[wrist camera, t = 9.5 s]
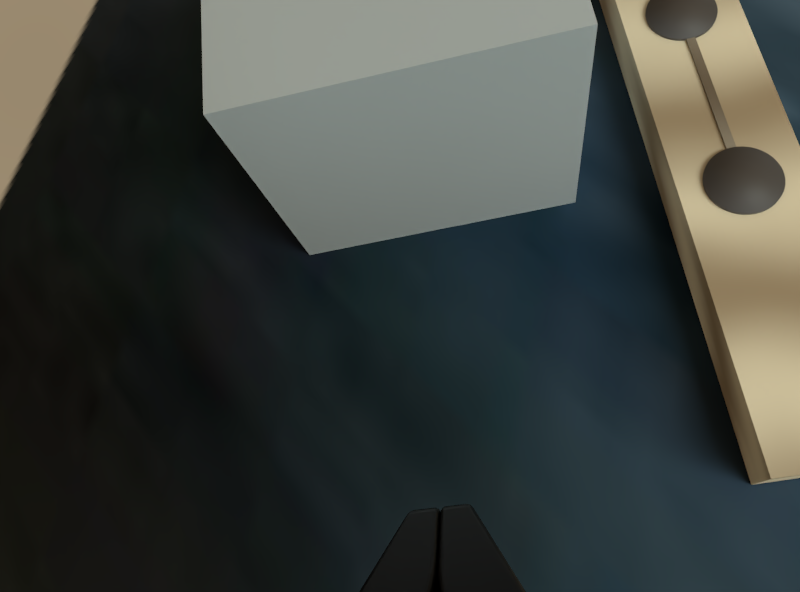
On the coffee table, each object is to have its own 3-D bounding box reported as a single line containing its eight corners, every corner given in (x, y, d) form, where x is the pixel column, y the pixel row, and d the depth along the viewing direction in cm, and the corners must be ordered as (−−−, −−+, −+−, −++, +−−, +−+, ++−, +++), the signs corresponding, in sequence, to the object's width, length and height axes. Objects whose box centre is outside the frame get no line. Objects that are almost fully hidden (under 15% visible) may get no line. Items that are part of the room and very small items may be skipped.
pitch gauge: (894, 464, 19) (931, 455, 18) (751, 484, 20) (772, 478, 18) (680, -77, 28) (690, -120, 26) (582, -53, 28) (585, -93, 26)
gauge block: (575, 203, 24) (597, 23, 16) (310, 255, 25) (203, 114, 17) (531, 32, 27) (531, -194, 19) (295, 86, 28) (198, -104, 20)
